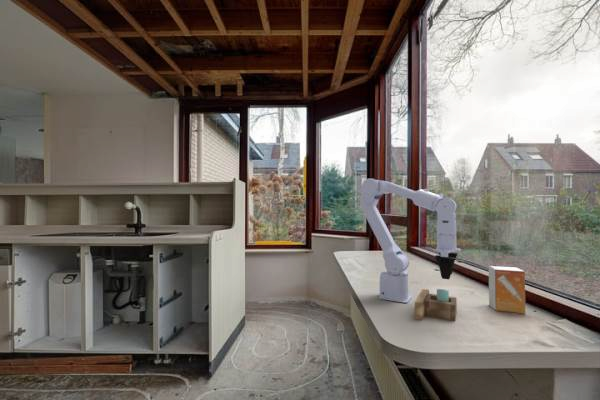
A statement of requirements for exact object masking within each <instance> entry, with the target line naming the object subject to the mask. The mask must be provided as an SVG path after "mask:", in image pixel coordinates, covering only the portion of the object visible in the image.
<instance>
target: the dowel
mask: <svg viewBox="0 0 600 400" xmlns="http://www.w3.org/2000/svg"><path fill="white" fill-rule="evenodd" d="M436 295H437V300H438V301H444V302H449V297H450V296H449V290H447V289H443V288H442V289H436Z"/></svg>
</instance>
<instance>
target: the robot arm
mask: <svg viewBox="0 0 600 400" xmlns="http://www.w3.org/2000/svg"><path fill="white" fill-rule="evenodd" d="M359 192H360V194H361V195H360V208H361V210H362V212H363V214H364V216H365V218H366V220H367V222H368V224H369V226H370V228H371V230H372V232H373V235H374V236H375V238H376V240H377V243H378V244H379V246H380V247H381V250H382V258H383V260H384V267H385V269H386V271H382V272H380V275H379V297H378V299H379V300H386V301H390V302H391V301H392V302H398V303H404V304H408V303H409V301H410V300H411V298H412V295H409V271H408V270H407V268H408V267H409V265H410V259H409V257H408V256H407V254H405V253H404V252H403V251H402V249H401V248H400V247H399V246H398V245H397V244H396V242H395V240H394V239H393V236H392V235H391V232H390V230H389V229H388V227H387V225H386V222H385V221H384V219H383V217H382V215H381V213H380V211H379V209H378V208H377V206H378V204H379V200H380V199H381V198H382V196H383V195H384V194H386V195H387V194H394V195H398V196H401V197H404V198H407V199H410V200H411V201H412V203H413V204H414V205H415V206H417V207H420V208H424V209H426V210H428V211H431V212H435V211H436V213H437V214H436V216H437V217H436V247H435V248H436V249H435V250H436V251H437V252H438V255H437V254H436V255H434V258H435V260H436V262H437V264H438V267H439V272H440V277H441V279H442V280H450V278H451V276H452V274H453V273H454V272H453V270H454V264H455V261H456V259H457V257H458V255H459V254H458V252H461V250H462V248H457V246H458V244H457V220H456V219H457V216H456V210H457V203H456V202H455V200H454V199H452V198H450V197H444V194H442V193H440V194H437V193H433V192H431V191H430V189H427V188H424V189H421V188H419V189H418V190H413V189H411V188H410V189H409V188H407V187H404V186H403V185H399V184H396V183H394V182H391V181H385V180H382V179H381V180H380V179H375V178H372V177H371V178H366V179H364V181H363V182H362V184H361V186H360V189H359Z"/></svg>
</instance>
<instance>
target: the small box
mask: <svg viewBox="0 0 600 400" xmlns="http://www.w3.org/2000/svg"><path fill="white" fill-rule="evenodd" d="M488 304H489V307H491V308H492V309H493V310H494V311H497V312H498V311H499V312H508V313H509V312H510V313H517V314H523V313H525V314H526V271H524V270H522V269H520V268H519V267H515V266H514V267H512V266H495V265H494V266H493V265H488Z"/></svg>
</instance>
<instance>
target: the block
mask: <svg viewBox="0 0 600 400" xmlns="http://www.w3.org/2000/svg"><path fill="white" fill-rule="evenodd" d="M457 303H458V302H457V297H456V296H449V302H444V301H438V300H437V294H435V293H434V294H433V293H429V294H428V295H427V297H426V299H425V315H424V317H425V316H427V317H431V318H437V319H442V320H448V321H453V322H455V321H456V320H457V319H456V318H457V311H458V309H457V307H458V306H457Z"/></svg>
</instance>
